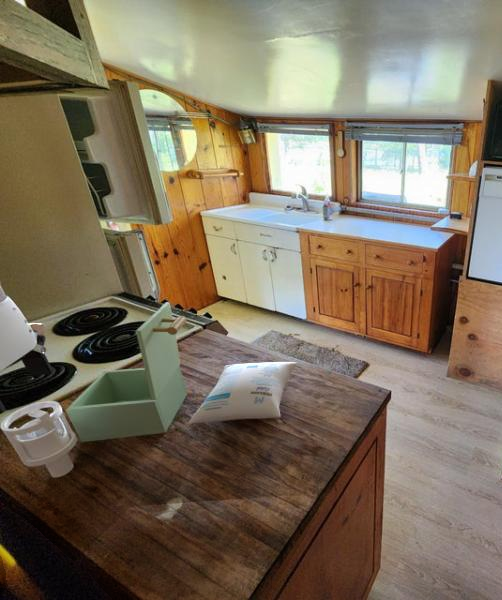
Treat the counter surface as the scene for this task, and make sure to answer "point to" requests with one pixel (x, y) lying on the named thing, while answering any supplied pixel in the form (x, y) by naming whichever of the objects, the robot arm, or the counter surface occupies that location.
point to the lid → (160, 347)
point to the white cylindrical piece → (42, 438)
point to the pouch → (246, 392)
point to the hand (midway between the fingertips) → (19, 392)
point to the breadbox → (125, 406)
